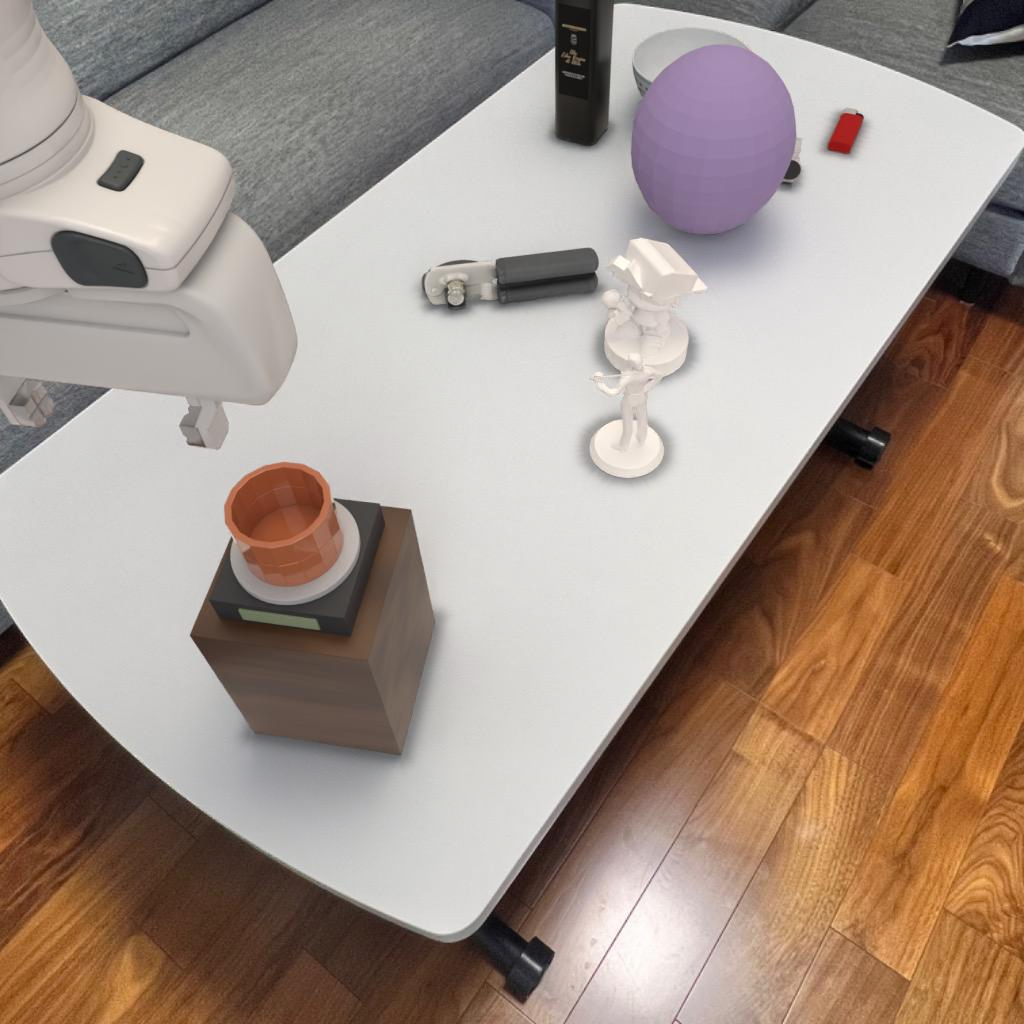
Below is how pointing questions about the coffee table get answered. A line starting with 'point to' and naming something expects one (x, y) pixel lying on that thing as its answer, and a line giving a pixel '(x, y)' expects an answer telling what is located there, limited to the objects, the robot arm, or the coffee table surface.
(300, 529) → the bowl
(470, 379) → the coffee table surface
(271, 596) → the scale
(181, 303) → the robot arm
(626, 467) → the figurine
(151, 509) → the coffee table surface
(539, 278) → the can opener
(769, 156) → the purple ovoid
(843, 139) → the lighter
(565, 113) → the black tall square bottle
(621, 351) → the character figurine
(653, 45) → the chinaware
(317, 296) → the coffee table surface
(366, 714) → the wooden block
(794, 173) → the wristwatch
